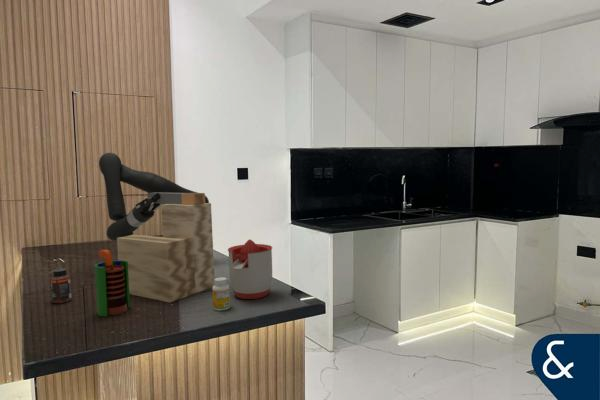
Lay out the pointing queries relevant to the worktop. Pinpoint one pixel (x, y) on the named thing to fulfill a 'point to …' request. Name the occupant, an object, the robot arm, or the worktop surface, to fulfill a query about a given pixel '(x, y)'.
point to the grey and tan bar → (179, 198)
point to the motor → (111, 285)
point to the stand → (172, 255)
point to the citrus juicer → (250, 269)
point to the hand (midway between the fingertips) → (163, 194)
